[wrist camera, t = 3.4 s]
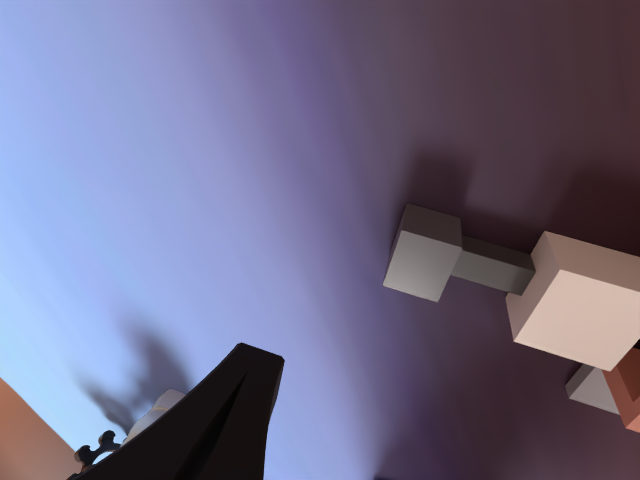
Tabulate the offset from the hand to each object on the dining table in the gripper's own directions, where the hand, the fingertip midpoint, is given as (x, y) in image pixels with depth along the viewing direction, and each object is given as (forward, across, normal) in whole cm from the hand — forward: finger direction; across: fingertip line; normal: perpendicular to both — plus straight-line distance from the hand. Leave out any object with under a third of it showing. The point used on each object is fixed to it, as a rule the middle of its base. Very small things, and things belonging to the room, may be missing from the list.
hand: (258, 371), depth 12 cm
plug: (+10, -8, 0) cm, 13 cm away
